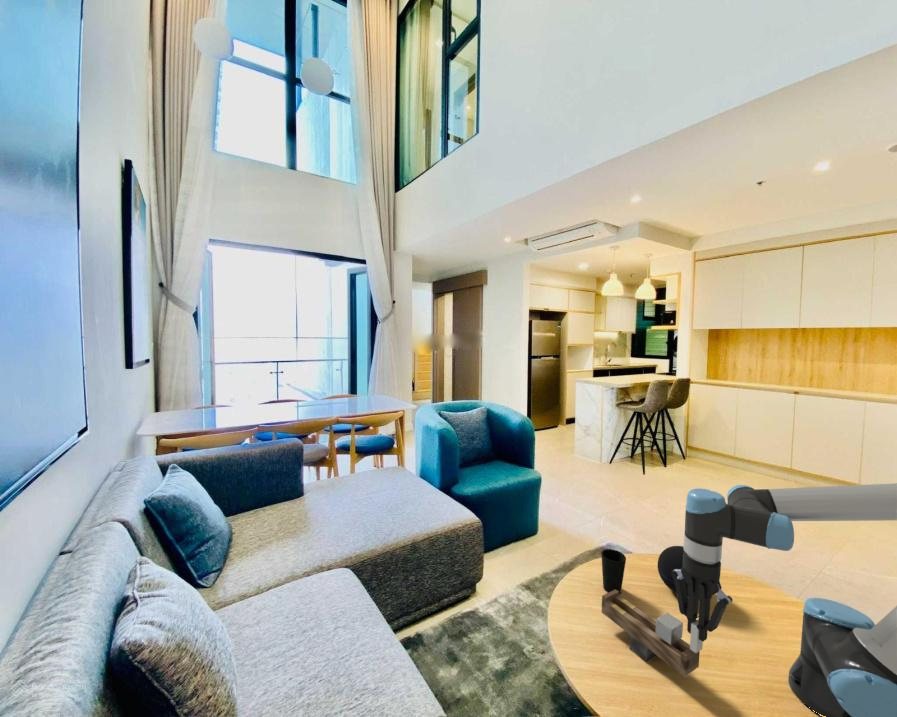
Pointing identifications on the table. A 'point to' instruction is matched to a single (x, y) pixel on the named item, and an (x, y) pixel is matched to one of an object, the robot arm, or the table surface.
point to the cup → (612, 569)
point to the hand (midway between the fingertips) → (696, 648)
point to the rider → (669, 629)
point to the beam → (647, 635)
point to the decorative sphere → (670, 565)
